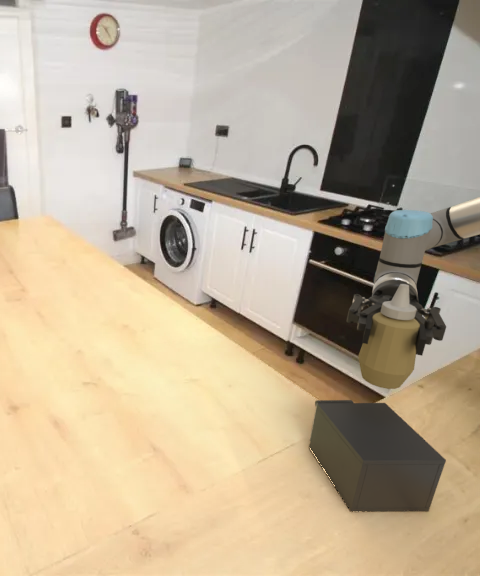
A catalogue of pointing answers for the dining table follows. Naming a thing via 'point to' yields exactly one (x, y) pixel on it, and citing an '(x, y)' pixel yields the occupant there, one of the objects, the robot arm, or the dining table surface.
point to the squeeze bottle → (391, 343)
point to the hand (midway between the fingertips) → (393, 341)
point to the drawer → (330, 402)
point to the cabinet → (375, 457)
